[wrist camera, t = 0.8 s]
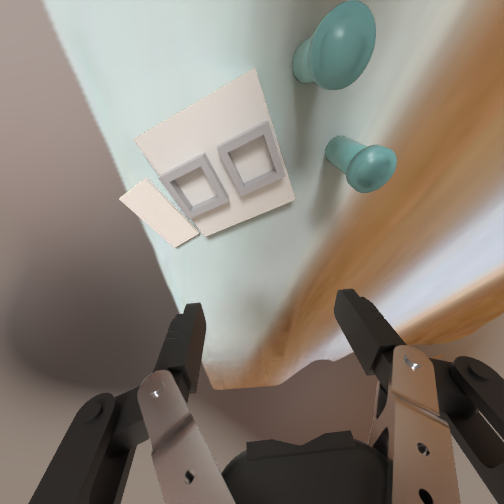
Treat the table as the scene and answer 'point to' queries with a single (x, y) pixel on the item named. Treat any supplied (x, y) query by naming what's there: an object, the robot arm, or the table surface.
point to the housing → (221, 157)
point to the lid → (159, 212)
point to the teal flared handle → (337, 47)
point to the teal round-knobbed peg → (361, 163)
